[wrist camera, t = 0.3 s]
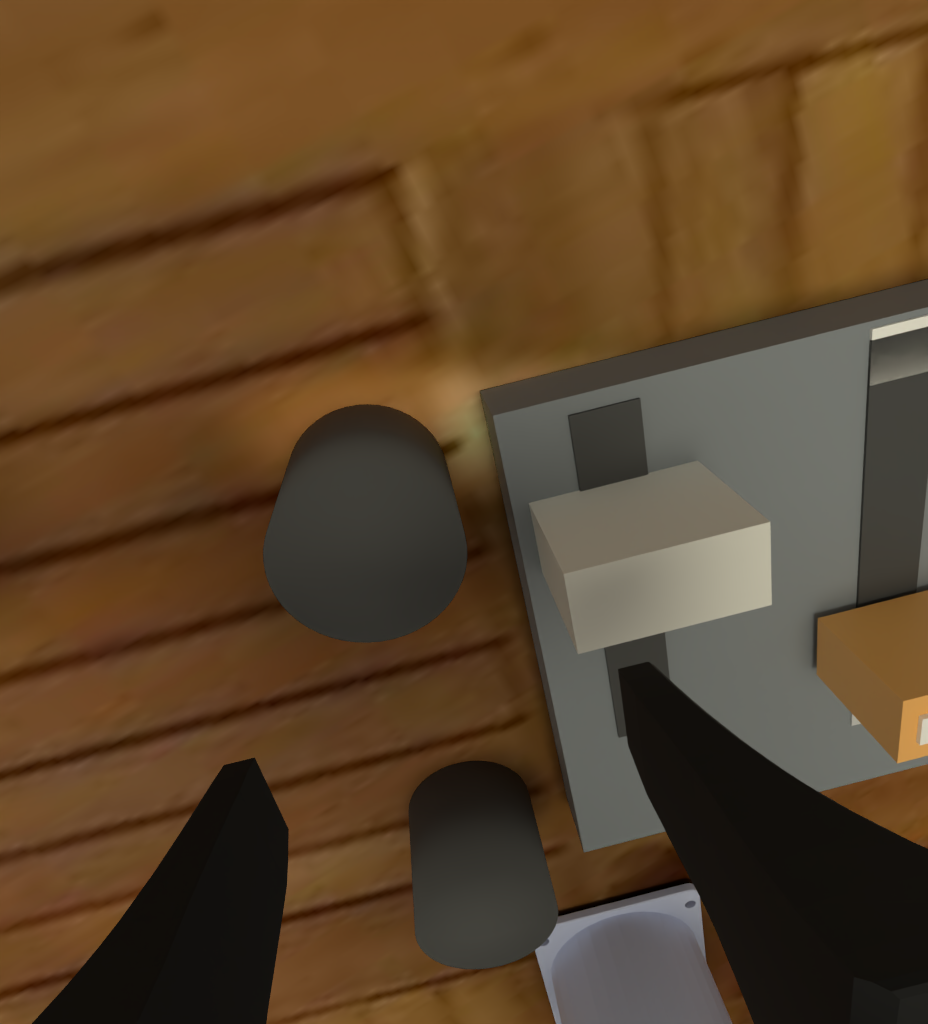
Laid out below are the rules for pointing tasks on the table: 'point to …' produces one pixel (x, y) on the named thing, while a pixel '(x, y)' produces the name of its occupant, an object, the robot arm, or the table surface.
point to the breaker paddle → (881, 670)
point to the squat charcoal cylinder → (365, 527)
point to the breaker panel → (779, 473)
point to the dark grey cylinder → (478, 868)
